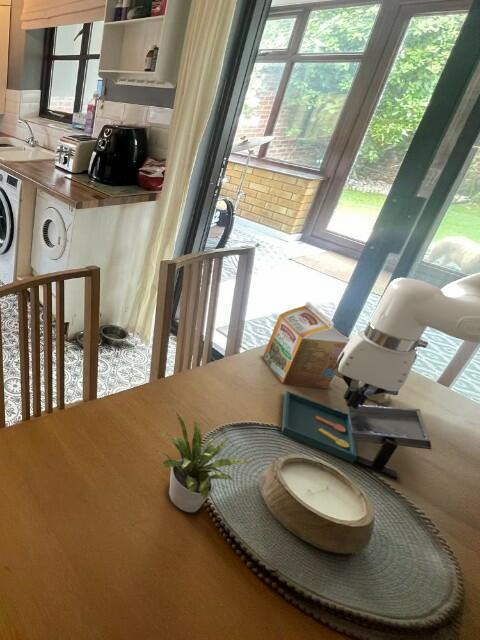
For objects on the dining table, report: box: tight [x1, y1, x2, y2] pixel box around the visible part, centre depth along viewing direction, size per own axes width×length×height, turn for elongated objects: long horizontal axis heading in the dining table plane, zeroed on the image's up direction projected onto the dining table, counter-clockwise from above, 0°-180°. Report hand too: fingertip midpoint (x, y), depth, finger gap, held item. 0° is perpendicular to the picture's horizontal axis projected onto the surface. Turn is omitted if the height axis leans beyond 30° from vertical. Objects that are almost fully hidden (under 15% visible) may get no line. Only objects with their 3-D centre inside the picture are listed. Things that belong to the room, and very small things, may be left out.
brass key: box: [318, 428, 349, 448], centre depth 89 cm, size 5×2×1 cm, turn 29°
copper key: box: [315, 416, 346, 433], centre depth 93 cm, size 5×2×1 cm, turn 44°
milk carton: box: [262, 301, 350, 389], centre depth 106 cm, size 11×11×19 cm
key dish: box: [347, 404, 433, 451], centre depth 85 cm, size 11×10×2 cm
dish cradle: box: [355, 402, 399, 481], centre depth 86 cm, size 6×14×8 cm, turn 143°
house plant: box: [155, 408, 251, 513], centre depth 74 cm, size 14×14×16 cm
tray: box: [281, 390, 358, 464], centre depth 92 cm, size 12×14×2 cm
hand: (350, 403), depth 91 cm, fingers closed
